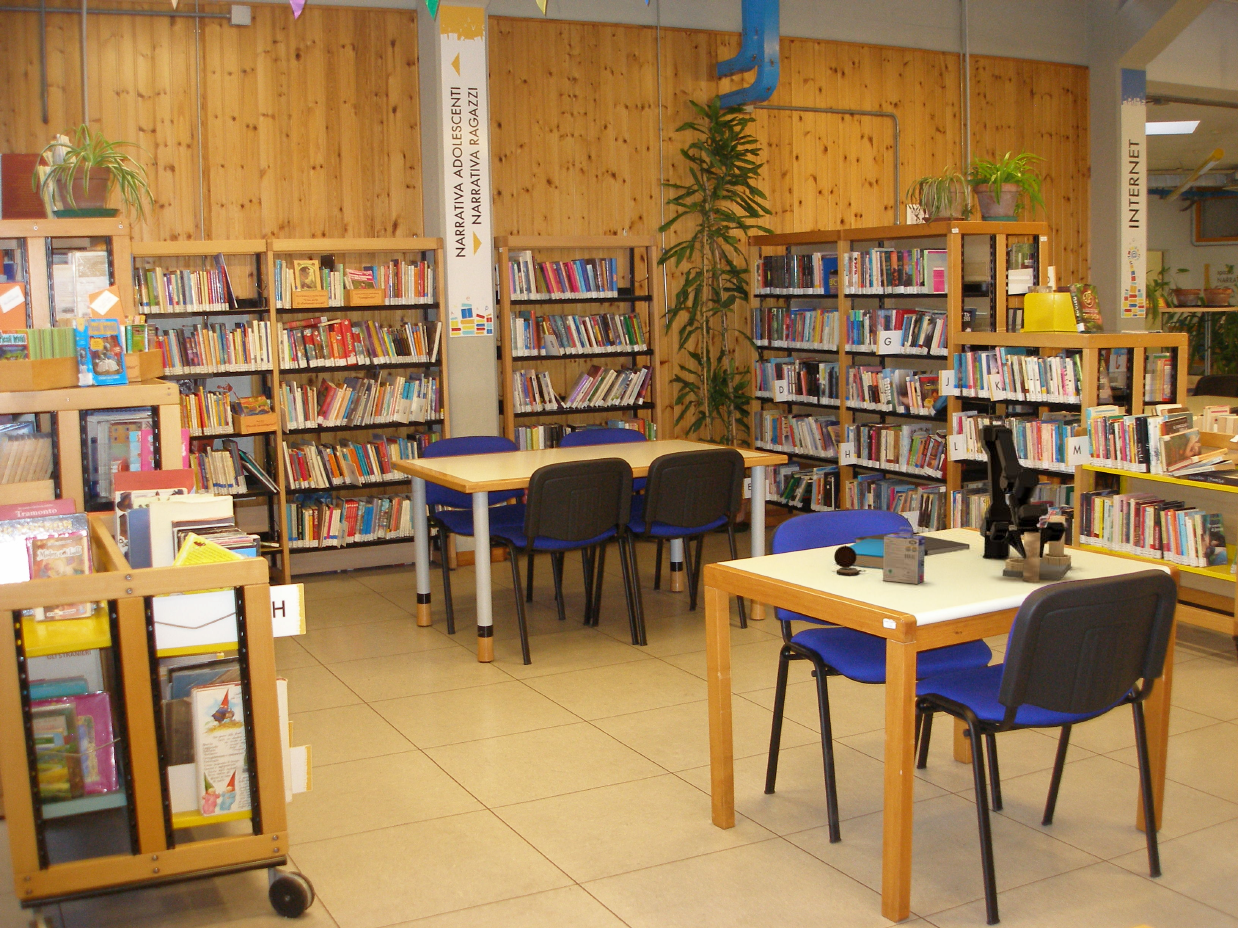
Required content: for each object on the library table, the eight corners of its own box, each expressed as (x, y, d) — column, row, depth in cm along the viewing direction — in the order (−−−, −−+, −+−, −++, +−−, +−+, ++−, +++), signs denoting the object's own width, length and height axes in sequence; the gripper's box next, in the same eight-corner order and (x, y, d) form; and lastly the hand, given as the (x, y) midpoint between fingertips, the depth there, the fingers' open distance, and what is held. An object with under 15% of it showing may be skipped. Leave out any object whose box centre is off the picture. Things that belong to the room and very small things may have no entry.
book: (920, 542, 349) (893, 555, 328) (919, 557, 350) (892, 570, 328) (864, 537, 358) (834, 550, 337) (864, 551, 359) (834, 564, 337)
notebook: (969, 551, 359) (902, 538, 383) (969, 543, 359) (902, 531, 383) (919, 558, 348) (852, 544, 371) (919, 550, 347) (853, 537, 371)
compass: (839, 576, 321) (839, 550, 320) (833, 570, 329) (834, 545, 328) (868, 576, 321) (868, 549, 320) (862, 570, 329) (862, 544, 328)
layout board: (1002, 575, 320) (1004, 523, 318) (1017, 561, 338) (1019, 512, 337) (1059, 580, 312) (1061, 526, 311) (1071, 566, 331) (1073, 515, 330)
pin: (1021, 581, 312) (1023, 533, 310) (1024, 578, 315) (1025, 531, 314) (1037, 583, 310) (1038, 534, 308) (1040, 580, 313) (1041, 532, 312)
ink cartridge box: (925, 581, 314) (926, 527, 312) (918, 584, 309) (919, 530, 307) (889, 577, 319) (890, 524, 317) (882, 581, 314) (883, 527, 313)
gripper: (993, 492, 314) (1004, 540, 304) (1064, 492, 313) (1077, 540, 304) (984, 516, 323) (995, 564, 313) (1053, 516, 322) (1066, 564, 312)
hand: (1033, 557), depth 310 cm, fingers closed on pin, 4 cm apart
